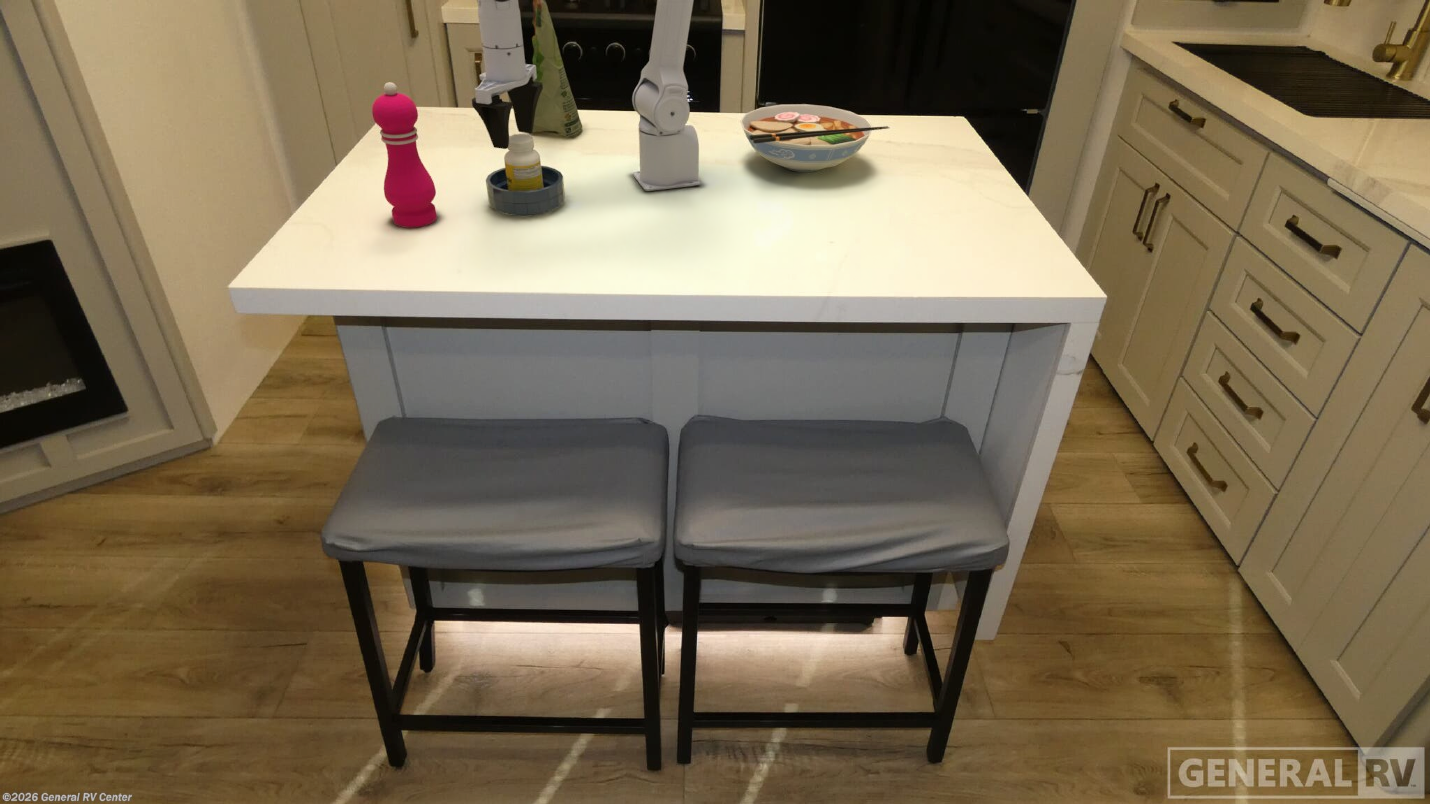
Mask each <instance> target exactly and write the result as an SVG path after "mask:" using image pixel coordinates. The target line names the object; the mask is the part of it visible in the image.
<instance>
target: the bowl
mask: <svg viewBox="0 0 1430 804" xmlns="http://www.w3.org/2000/svg"><path fill="white" fill-rule="evenodd" d="M541 170H542V179H543V188H542V189H537V190H530V191H511V190H508V184H507V177H506V169H505V167H502V168H499V169H497V170H494V171H492V172H490V173H489V174H488V175H487V177H486V178H485V186H486V194H487V200H488V204H489V206H490V208H491V209H493V210H495V211H496V212H500V213H503V214H507V215H511V216H519V217H527V216H528V217H529V216H537V215H543V214H545V213H548V212H550V211H553V210H555V209H557V208H559V207H560V206H561V205H563V204H564V202H565V199H566V196H565V195H566V193H565V184H564V183H565V182H564V175H563V174H562V172H561V171H560V170H558V169H556V168H553V167H550V166H546V165H541Z"/></svg>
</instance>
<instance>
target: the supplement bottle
mask: <svg viewBox="0 0 1430 804" xmlns="http://www.w3.org/2000/svg"><path fill="white" fill-rule="evenodd" d="M534 148H535V140H534V137H533V136H532V135H530V134H527V133H517V134H513V135H509V145H508V148H507V150H508V151H507V152H505V154H504V158H503V160H504V168H505V169H506V177H507V184H508V190H511V191H530V190H537V189H542V188H543V179H542V170H541V166H542V163H541V155H540V153H539V151H538V150H536V149H534Z"/></svg>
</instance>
